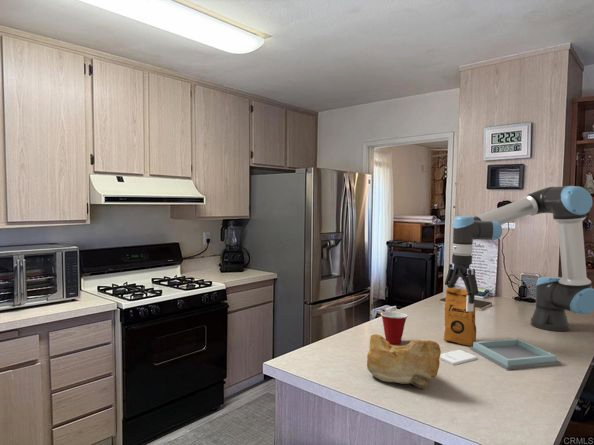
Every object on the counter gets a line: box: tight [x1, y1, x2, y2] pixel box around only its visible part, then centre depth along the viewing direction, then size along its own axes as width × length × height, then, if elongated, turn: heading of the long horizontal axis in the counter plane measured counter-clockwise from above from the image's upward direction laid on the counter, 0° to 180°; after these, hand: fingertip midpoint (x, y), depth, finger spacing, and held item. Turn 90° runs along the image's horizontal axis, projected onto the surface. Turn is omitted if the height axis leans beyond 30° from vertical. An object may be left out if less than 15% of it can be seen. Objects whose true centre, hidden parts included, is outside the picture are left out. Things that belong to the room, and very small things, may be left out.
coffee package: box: [443, 286, 477, 347], centre depth 166 cm, size 10×12×22 cm
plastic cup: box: [380, 311, 408, 346], centre depth 166 cm, size 11×11×12 cm
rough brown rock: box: [366, 333, 442, 390], centre depth 132 cm, size 23×17×15 cm
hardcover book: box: [439, 296, 493, 311], centre depth 229 cm, size 16×23×2 cm
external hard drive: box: [439, 349, 478, 366], centre depth 150 cm, size 2×8×12 cm
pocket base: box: [469, 338, 561, 371], centre depth 152 cm, size 22×20×3 cm
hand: (460, 307), depth 166 cm, fingers closed on coffee package, 12 cm apart
